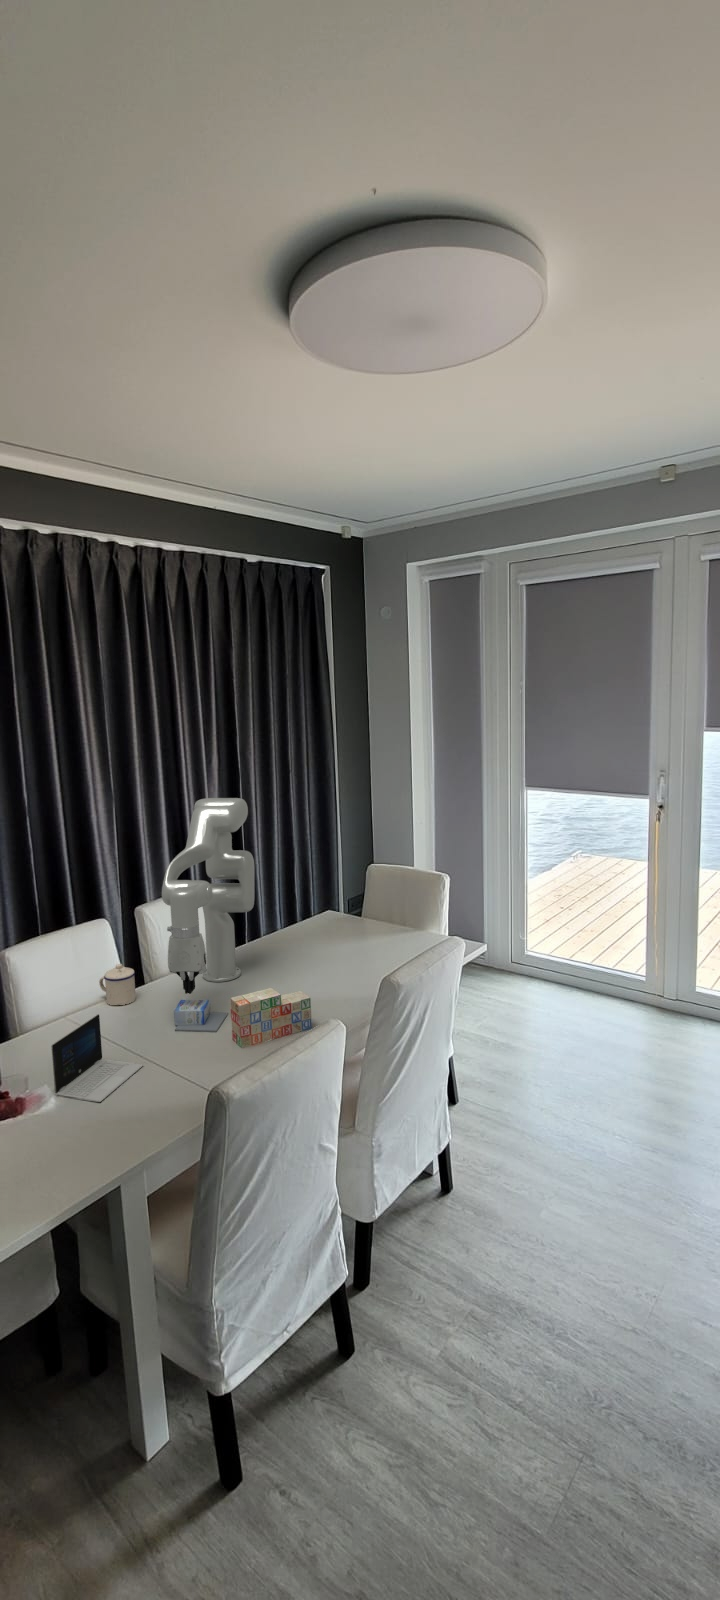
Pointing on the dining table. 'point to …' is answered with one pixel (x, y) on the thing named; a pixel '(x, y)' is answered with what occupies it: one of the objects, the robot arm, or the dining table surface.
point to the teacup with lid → (119, 985)
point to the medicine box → (192, 1012)
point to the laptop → (87, 1065)
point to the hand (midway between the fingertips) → (189, 991)
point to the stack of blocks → (268, 1016)
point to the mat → (206, 1023)
